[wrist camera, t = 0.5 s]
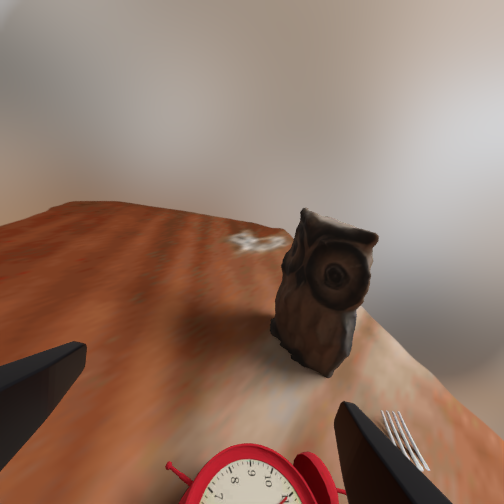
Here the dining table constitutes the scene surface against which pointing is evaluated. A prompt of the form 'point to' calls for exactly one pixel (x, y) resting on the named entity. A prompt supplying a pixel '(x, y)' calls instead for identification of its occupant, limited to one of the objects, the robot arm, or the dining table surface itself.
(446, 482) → the dining table surface
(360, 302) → the owl
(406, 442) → the fork
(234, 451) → the alarm clock
